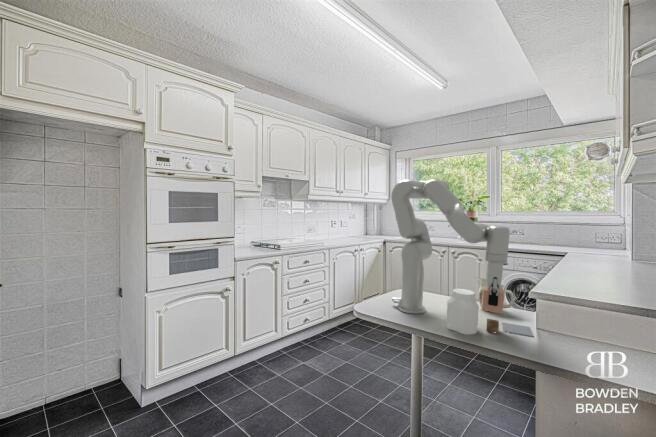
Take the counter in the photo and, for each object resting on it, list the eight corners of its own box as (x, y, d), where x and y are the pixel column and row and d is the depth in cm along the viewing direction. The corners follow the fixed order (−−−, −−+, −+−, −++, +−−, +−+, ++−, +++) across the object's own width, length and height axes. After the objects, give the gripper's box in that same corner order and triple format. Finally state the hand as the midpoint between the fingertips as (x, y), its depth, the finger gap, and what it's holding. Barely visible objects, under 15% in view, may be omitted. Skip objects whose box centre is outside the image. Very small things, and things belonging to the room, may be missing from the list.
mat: (503, 331, 124) (503, 330, 124) (501, 323, 133) (501, 322, 133) (533, 337, 120) (533, 336, 120) (529, 327, 129) (529, 326, 129)
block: (486, 331, 124) (487, 321, 124) (486, 328, 128) (487, 318, 128) (498, 334, 123) (498, 323, 122) (497, 330, 126) (498, 320, 126)
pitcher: (508, 318, 139) (510, 287, 138) (467, 307, 152) (469, 279, 152) (517, 313, 146) (519, 284, 145) (478, 303, 160) (479, 276, 159)
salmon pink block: (481, 310, 123) (483, 289, 123) (481, 304, 130) (483, 285, 129) (502, 313, 121) (504, 293, 120) (501, 308, 127) (502, 288, 126)
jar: (441, 326, 128) (443, 290, 127) (453, 321, 134) (455, 286, 133) (469, 336, 119) (472, 297, 118) (481, 330, 125) (483, 293, 124)
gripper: (485, 253, 133) (481, 294, 134) (486, 260, 117) (481, 307, 119) (505, 255, 130) (501, 298, 131) (509, 263, 114) (504, 311, 116)
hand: (492, 302), depth 125 cm, fingers closed on salmon pink block, 7 cm apart
